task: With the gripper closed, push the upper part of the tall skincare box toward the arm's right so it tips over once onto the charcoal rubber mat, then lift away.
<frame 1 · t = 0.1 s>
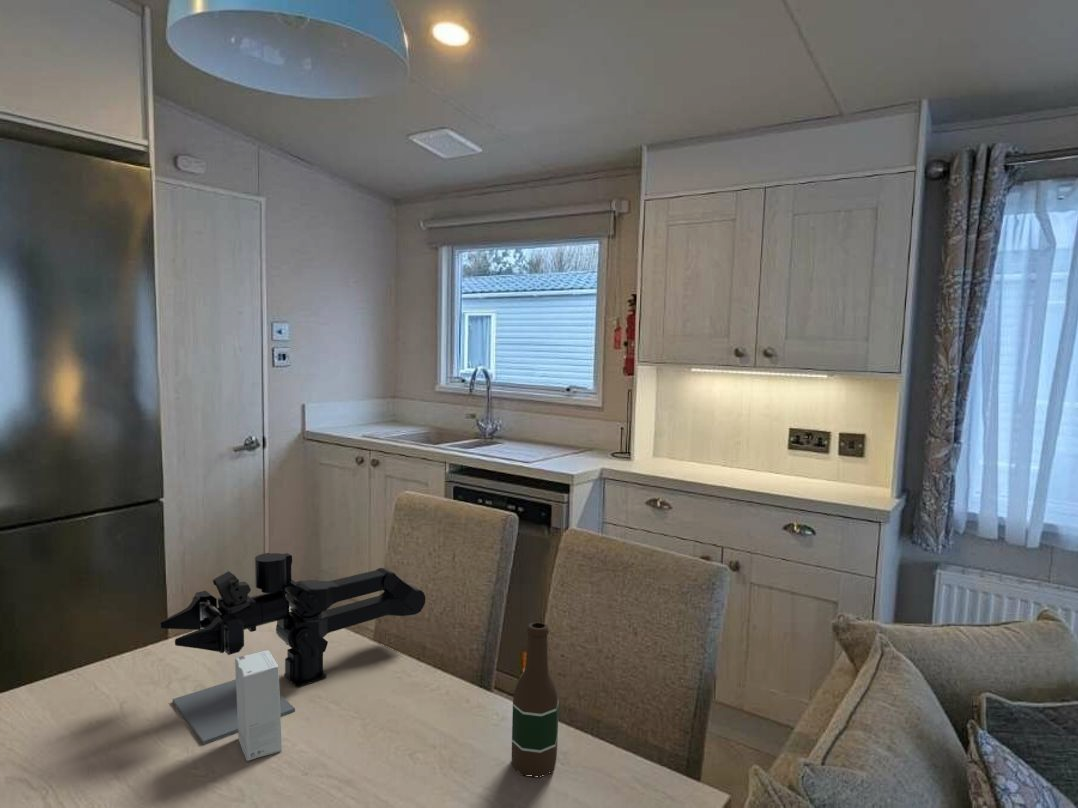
hand: (167, 633, 120), 17 cm above the table, tool horizontal, fingers open, 9 cm apart
skincare box: (258, 745, 115), on the table
mat: (233, 706, 127), on the table
beer bottle: (534, 765, 112), on the table
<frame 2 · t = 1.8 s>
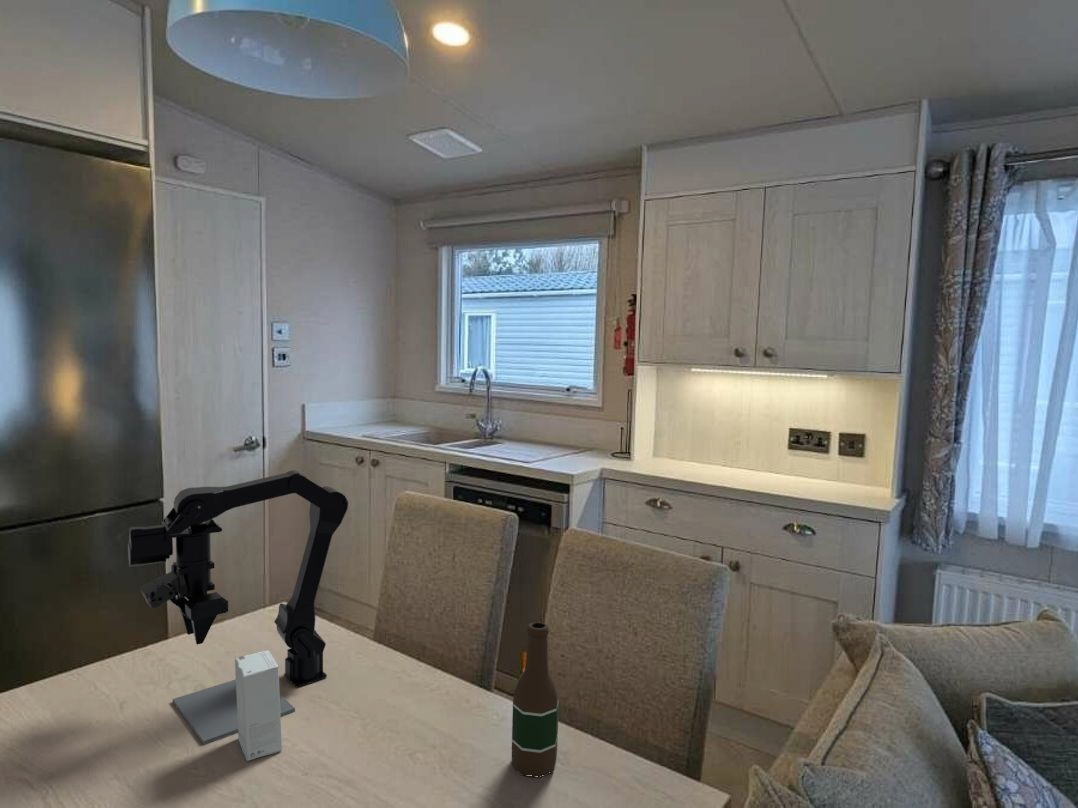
hand: (194, 638, 126), 13 cm above the table, tool pointing down, fingers open, 5 cm apart
nothing on the table moved.
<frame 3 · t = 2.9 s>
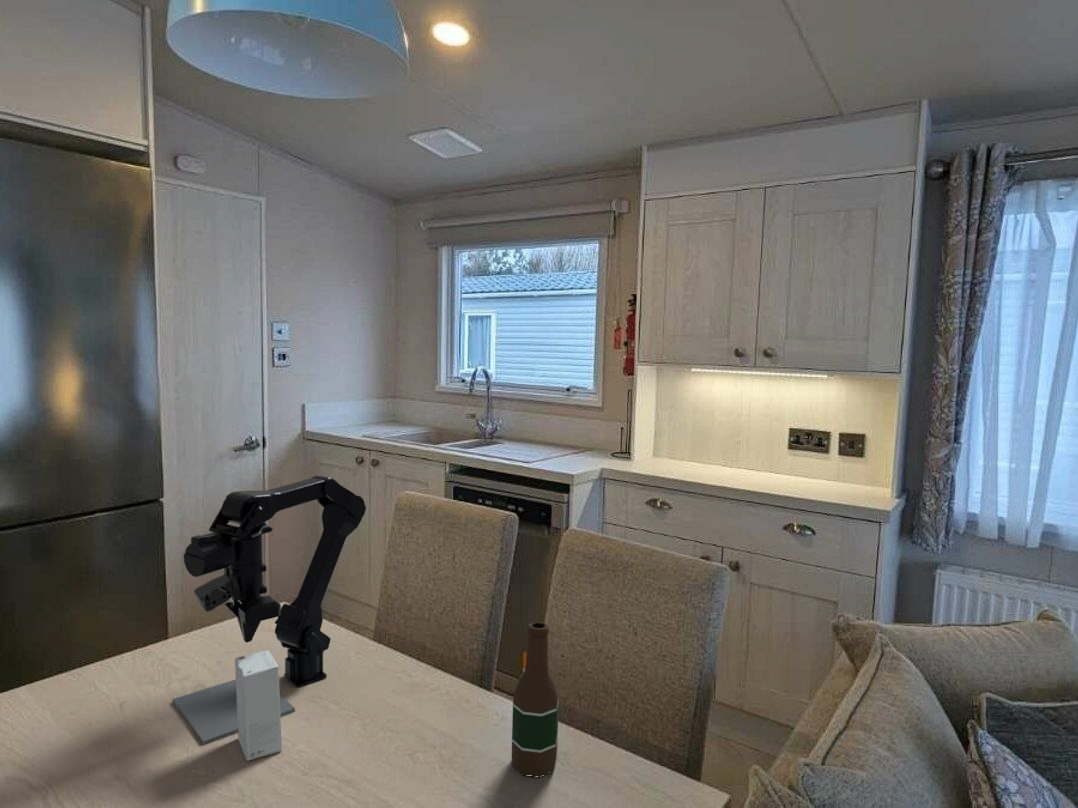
hand: (247, 641, 126), 13 cm above the table, tool pointing down, fingers closed
nothing on the table moved.
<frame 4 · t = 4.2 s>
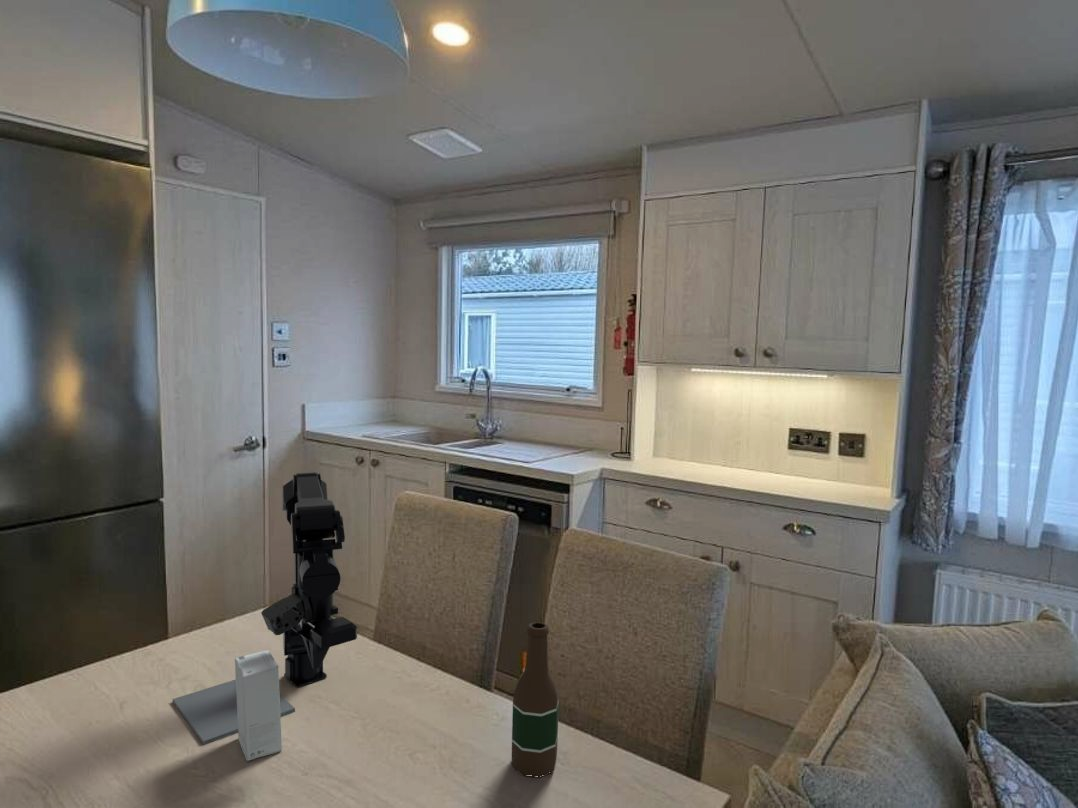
hand: (316, 667, 115), 14 cm above the table, tool pointing down, fingers closed
nothing on the table moved.
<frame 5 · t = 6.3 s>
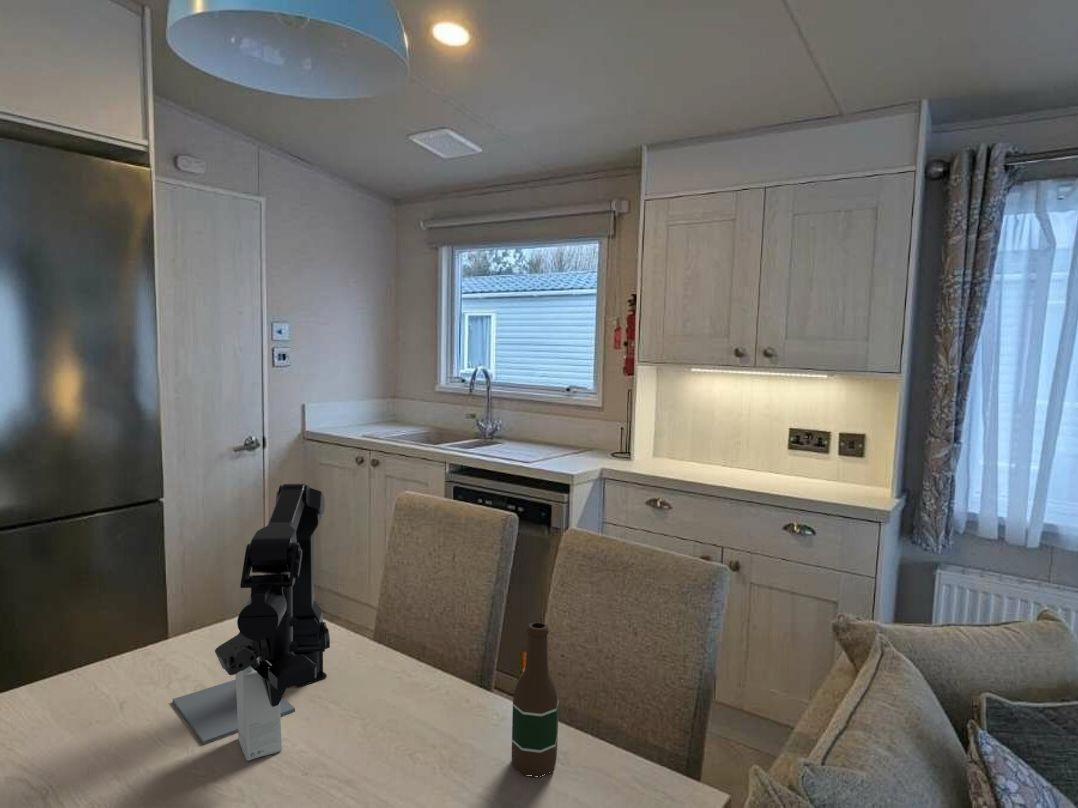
hand: (274, 705, 109), 10 cm above the table, tool pointing down, fingers closed
skincare box: (258, 745, 115), on the table, touching gripper
everything else where it was.
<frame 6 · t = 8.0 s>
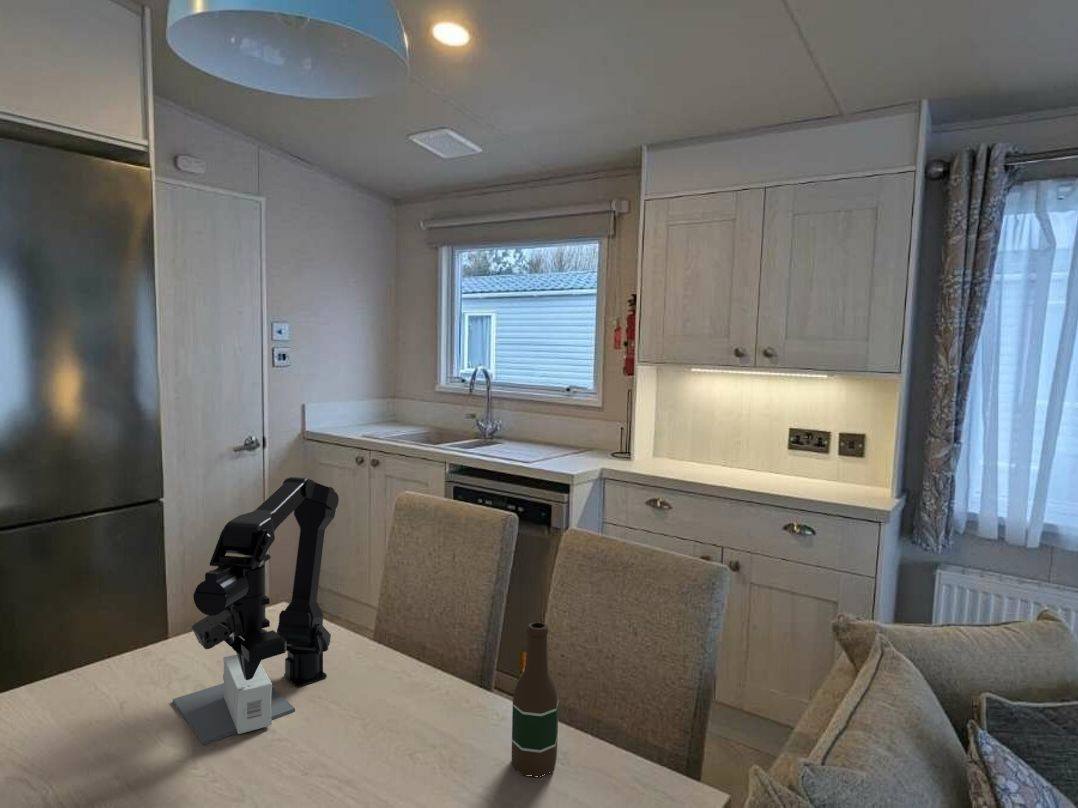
hand: (248, 678, 118), 10 cm above the table, tool pointing down, fingers closed
skincare box: (254, 711, 118), point 4 cm above the table, touching mat
everything else where it was.
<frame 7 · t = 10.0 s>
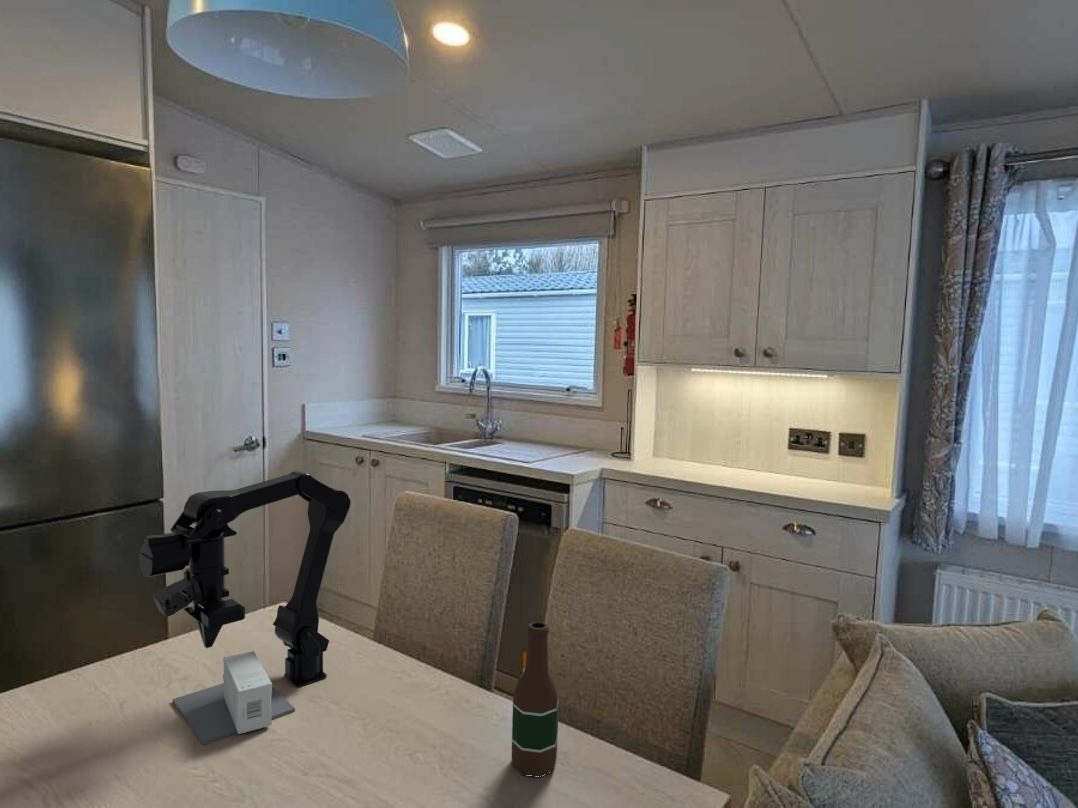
hand: (208, 647, 122), 13 cm above the table, tool pointing down, fingers closed
nothing on the table moved.
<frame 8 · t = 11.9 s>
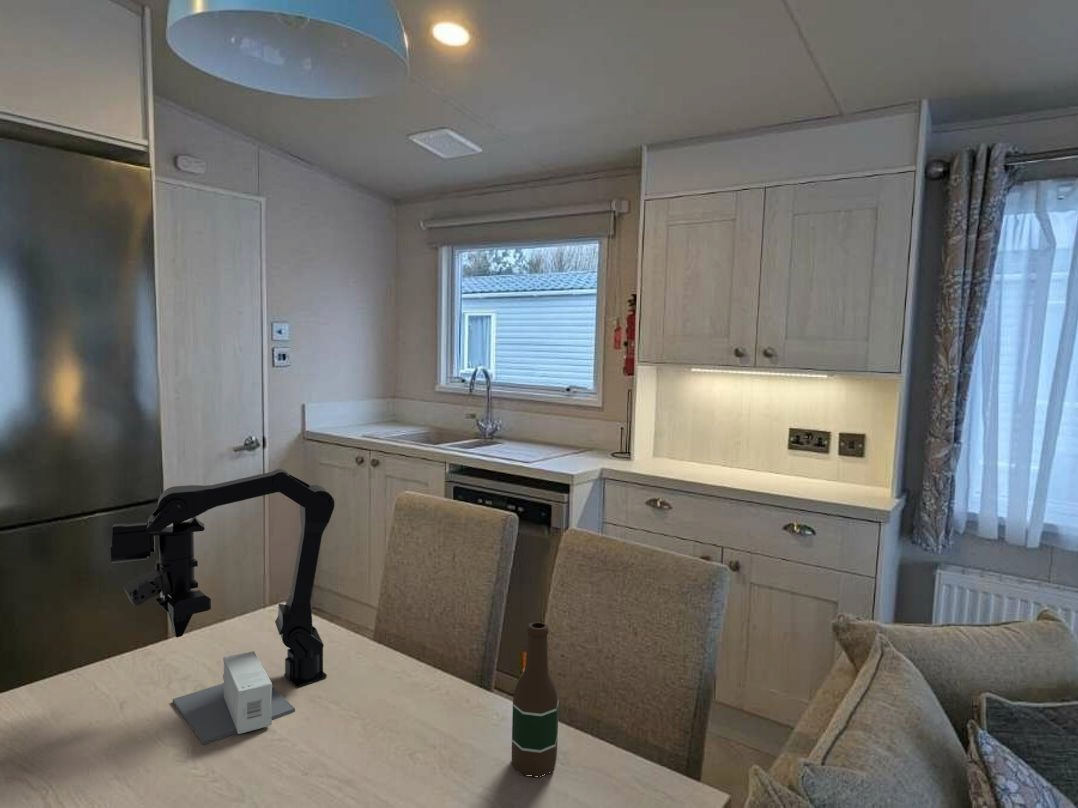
hand: (178, 636, 126), 13 cm above the table, tool pointing down, fingers closed
nothing on the table moved.
at the end: skincare box tilted 88°; skincare box touching mat; the gripper is holding nothing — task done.
